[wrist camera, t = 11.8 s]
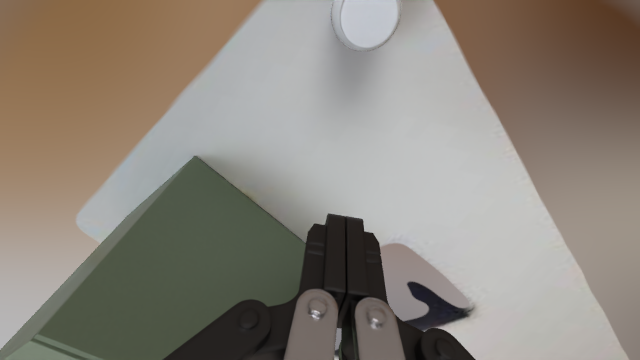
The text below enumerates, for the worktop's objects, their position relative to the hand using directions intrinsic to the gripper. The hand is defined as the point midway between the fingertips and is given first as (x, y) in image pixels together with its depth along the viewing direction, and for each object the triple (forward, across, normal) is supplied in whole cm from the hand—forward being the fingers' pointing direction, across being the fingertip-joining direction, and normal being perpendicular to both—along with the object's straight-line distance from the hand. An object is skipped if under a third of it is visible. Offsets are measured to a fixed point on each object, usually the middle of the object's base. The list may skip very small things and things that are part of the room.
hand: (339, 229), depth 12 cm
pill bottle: (+23, 0, -7) cm, 24 cm away
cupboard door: (+23, +6, +20) cm, 31 cm away
